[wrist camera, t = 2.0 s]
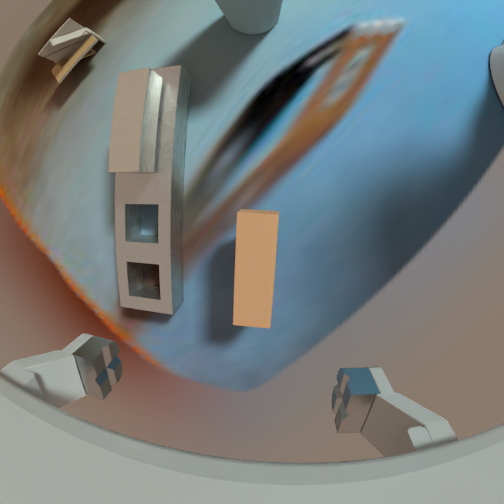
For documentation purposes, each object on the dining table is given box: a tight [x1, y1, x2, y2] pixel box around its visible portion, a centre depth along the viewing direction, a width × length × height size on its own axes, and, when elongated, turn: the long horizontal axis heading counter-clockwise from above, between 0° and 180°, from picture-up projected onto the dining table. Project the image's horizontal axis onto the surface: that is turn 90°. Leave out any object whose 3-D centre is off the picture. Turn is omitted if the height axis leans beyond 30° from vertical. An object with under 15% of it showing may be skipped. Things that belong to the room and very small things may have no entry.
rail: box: [108, 65, 192, 315], centre depth 24 cm, size 6×24×7 cm, turn 177°
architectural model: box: [38, 18, 106, 83], centre depth 22 cm, size 3×7×7 cm, turn 130°
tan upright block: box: [233, 209, 279, 328], centre depth 25 cm, size 3×9×7 cm, turn 177°
